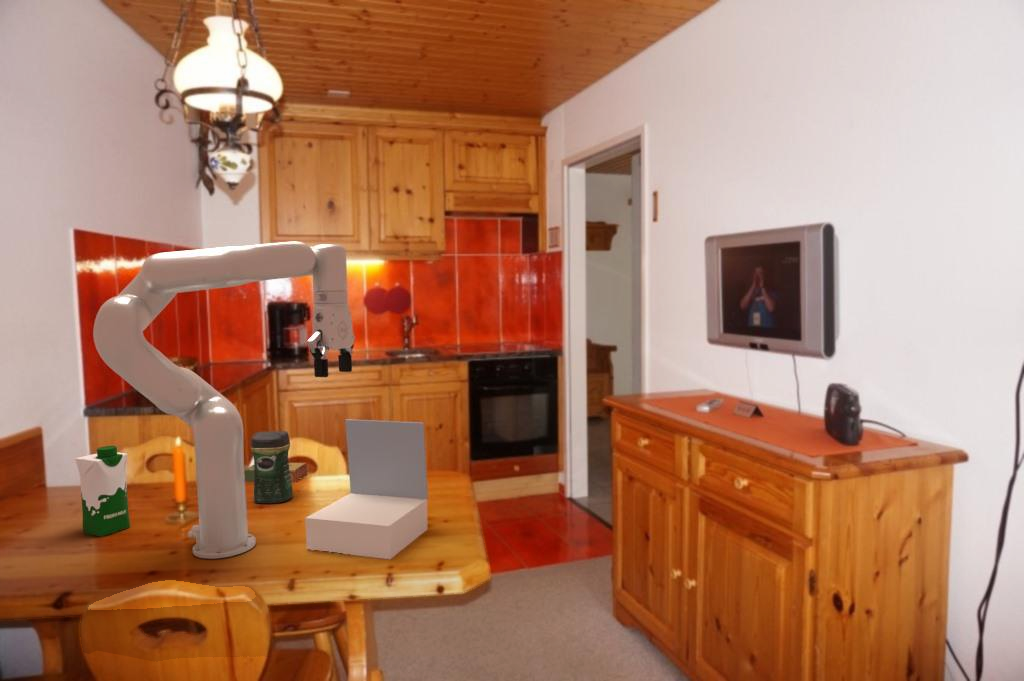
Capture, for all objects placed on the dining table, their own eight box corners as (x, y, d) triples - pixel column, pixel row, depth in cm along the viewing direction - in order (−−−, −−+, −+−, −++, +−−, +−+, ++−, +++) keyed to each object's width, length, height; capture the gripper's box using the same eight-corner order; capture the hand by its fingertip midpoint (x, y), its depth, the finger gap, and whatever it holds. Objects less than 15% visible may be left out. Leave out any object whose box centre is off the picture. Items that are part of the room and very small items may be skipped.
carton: (296, 483, 197) (295, 469, 196) (244, 483, 199) (243, 468, 198) (307, 475, 205) (307, 461, 205) (257, 475, 207) (257, 461, 206)
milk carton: (100, 539, 153) (94, 452, 152) (75, 533, 157) (70, 449, 156) (136, 526, 161) (131, 444, 160) (112, 521, 165) (107, 441, 164)
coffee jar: (296, 495, 184) (293, 428, 183) (285, 504, 176) (282, 434, 175) (262, 495, 184) (258, 428, 183) (249, 504, 177) (245, 434, 175)
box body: (306, 549, 144) (305, 517, 144) (351, 521, 161) (350, 493, 161) (390, 559, 138) (388, 526, 138) (427, 529, 155) (426, 499, 155)
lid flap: (345, 419, 159) (354, 415, 163) (350, 493, 161) (359, 487, 165) (422, 423, 152) (430, 418, 156) (426, 499, 155) (434, 493, 159)
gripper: (323, 299, 143) (326, 379, 145) (365, 298, 160) (367, 370, 161) (293, 300, 146) (296, 378, 147) (337, 299, 162) (340, 369, 163)
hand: (333, 374), depth 154 cm, fingers open, 9 cm apart
